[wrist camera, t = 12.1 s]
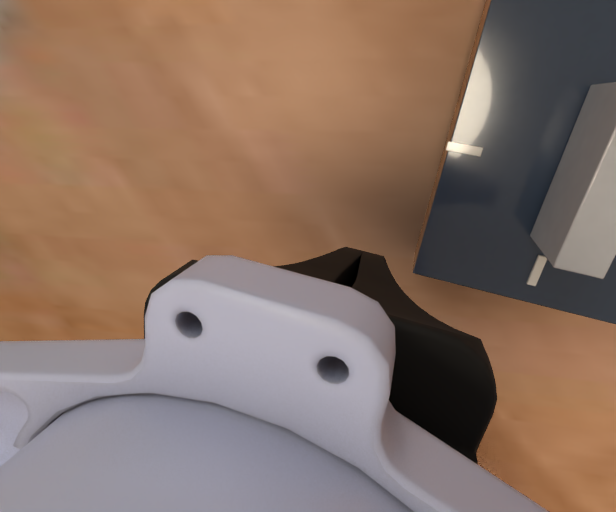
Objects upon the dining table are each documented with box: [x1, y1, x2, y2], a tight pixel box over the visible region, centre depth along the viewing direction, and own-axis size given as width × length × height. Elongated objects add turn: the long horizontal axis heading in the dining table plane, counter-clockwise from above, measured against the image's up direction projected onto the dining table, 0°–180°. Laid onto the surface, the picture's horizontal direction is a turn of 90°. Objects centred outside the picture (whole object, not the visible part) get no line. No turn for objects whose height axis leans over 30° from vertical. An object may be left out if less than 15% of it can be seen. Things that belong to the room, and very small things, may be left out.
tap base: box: [413, 0, 616, 324], centre depth 17 cm, size 12×10×3 cm
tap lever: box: [530, 82, 616, 279], centre depth 14 cm, size 6×2×4 cm, turn 171°
